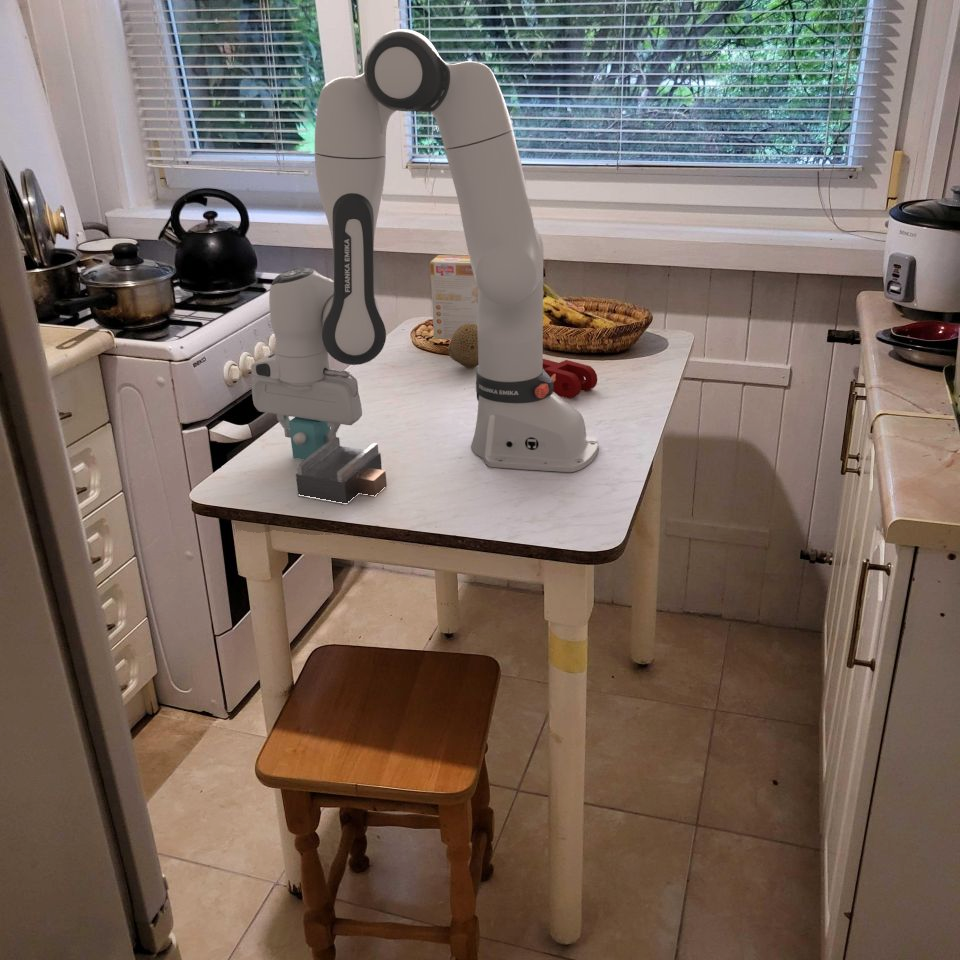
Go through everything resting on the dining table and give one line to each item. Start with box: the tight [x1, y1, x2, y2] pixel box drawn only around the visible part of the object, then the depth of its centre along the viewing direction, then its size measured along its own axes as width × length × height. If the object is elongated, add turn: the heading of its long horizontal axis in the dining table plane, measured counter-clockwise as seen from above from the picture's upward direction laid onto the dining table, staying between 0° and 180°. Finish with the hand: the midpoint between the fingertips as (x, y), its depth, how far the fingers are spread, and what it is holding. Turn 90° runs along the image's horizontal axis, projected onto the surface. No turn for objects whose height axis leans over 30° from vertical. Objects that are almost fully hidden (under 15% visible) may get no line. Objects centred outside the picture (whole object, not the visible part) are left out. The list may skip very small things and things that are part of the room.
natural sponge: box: [447, 323, 479, 369], centre depth 209 cm, size 9×9×10 cm
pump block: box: [289, 417, 331, 460], centre depth 171 cm, size 5×6×7 cm
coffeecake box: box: [429, 254, 478, 340], centre depth 223 cm, size 15×7×20 cm, turn 77°
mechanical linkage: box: [543, 358, 598, 400], centre depth 199 cm, size 16×7×5 cm, turn 48°
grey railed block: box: [295, 436, 388, 504], centre depth 160 cm, size 12×12×6 cm
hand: (310, 439), depth 172 cm, fingers open, 7 cm apart
